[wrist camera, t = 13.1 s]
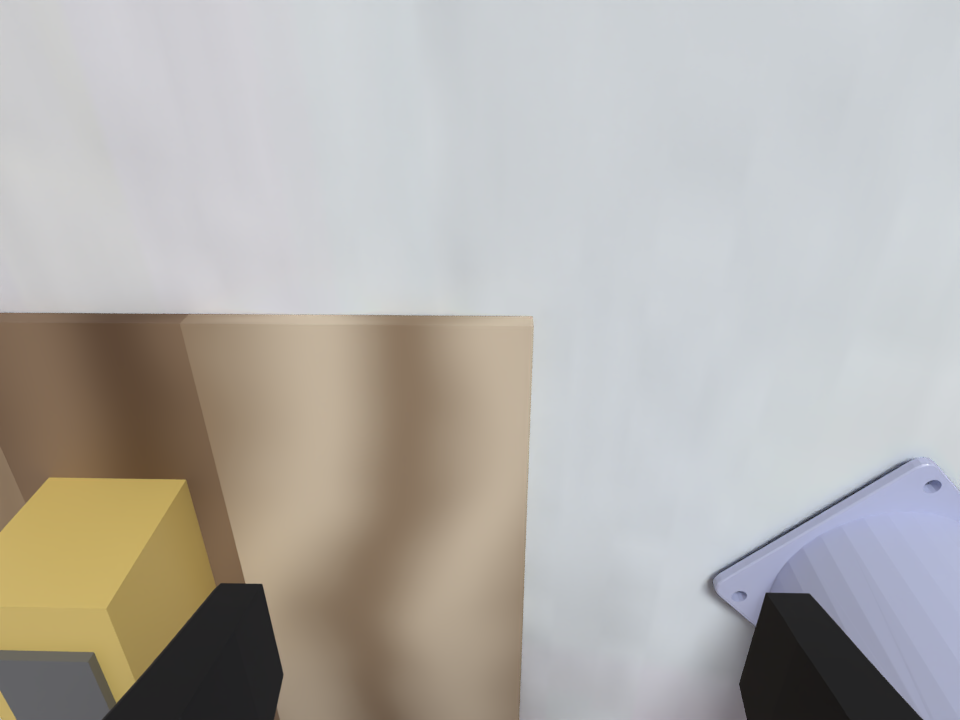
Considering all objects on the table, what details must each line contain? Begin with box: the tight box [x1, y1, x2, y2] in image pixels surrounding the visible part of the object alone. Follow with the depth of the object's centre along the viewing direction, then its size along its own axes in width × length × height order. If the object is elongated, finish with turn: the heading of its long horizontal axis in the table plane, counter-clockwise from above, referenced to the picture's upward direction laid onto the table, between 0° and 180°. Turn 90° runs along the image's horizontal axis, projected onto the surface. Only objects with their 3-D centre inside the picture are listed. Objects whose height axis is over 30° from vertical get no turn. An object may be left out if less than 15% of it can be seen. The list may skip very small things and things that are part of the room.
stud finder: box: [0, 478, 216, 720], centre depth 21 cm, size 4×9×5 cm, turn 0°
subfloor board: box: [0, 313, 534, 720], centre depth 24 cm, size 19×20×1 cm
